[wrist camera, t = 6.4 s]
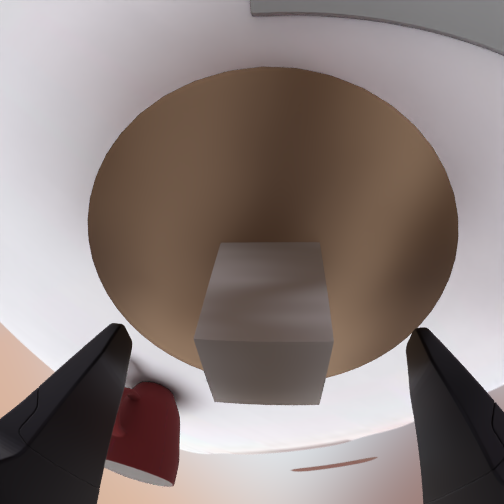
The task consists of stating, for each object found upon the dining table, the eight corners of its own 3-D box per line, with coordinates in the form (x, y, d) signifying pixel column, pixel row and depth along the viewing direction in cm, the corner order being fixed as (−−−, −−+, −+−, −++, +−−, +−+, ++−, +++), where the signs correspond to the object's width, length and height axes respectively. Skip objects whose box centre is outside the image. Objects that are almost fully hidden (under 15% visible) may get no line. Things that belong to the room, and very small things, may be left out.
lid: (477, 90, 7) (582, 135, 3) (400, 365, 15) (416, 442, 11) (60, 103, 8) (-43, 152, 4) (150, 361, 16) (126, 435, 12)
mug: (93, 355, 27) (57, 438, 19) (156, 353, 25) (123, 456, 17) (145, 406, 33) (125, 478, 25) (204, 408, 31) (189, 490, 23)
